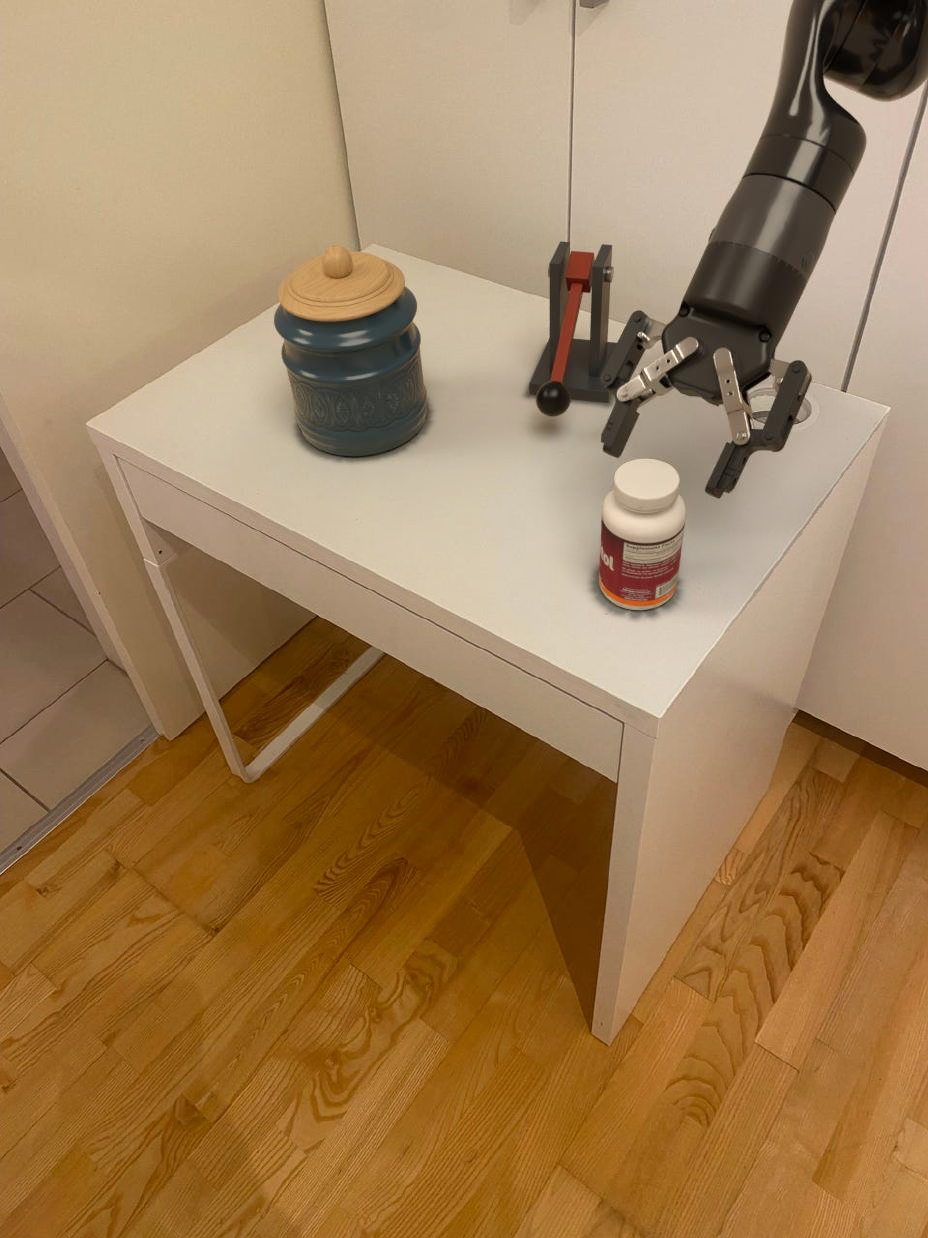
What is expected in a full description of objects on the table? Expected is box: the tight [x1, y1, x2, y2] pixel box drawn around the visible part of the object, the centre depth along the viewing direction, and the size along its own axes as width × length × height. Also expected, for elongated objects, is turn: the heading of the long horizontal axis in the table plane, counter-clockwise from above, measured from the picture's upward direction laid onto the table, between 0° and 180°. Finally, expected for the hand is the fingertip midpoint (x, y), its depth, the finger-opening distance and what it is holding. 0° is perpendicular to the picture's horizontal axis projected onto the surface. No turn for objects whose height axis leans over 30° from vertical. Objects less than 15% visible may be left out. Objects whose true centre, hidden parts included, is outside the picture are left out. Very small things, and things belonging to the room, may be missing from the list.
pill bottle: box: [598, 458, 687, 611], centre depth 72 cm, size 6×6×11 cm
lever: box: [535, 250, 596, 418], centre depth 89 cm, size 16×3×3 cm
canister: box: [273, 245, 429, 457], centre depth 88 cm, size 13×13×18 cm
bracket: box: [528, 241, 617, 404], centre depth 93 cm, size 9×8×13 cm
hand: (659, 474), depth 70 cm, fingers open, 8 cm apart
